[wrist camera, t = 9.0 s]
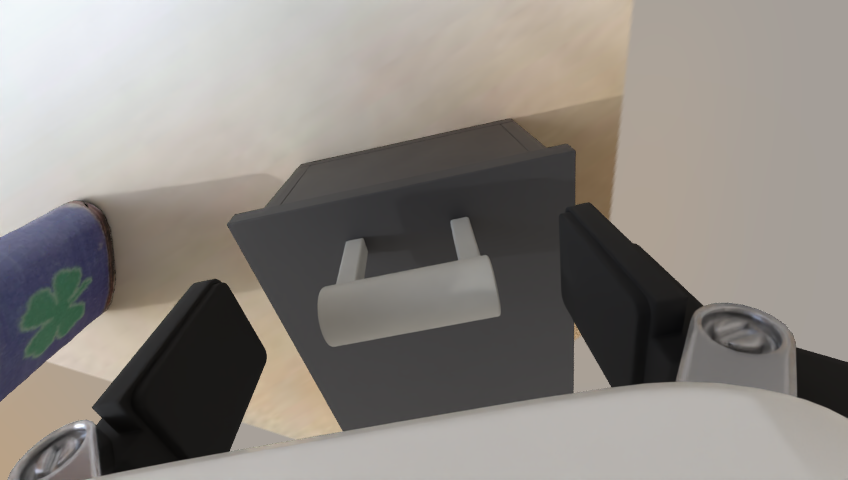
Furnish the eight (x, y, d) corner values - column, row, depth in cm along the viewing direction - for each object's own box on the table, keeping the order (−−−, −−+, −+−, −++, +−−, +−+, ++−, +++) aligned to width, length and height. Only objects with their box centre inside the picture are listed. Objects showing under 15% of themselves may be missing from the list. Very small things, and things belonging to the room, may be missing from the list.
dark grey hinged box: (299, 164, 22) (252, 221, 16) (511, 117, 22) (558, 156, 15) (367, 343, 29) (355, 437, 23) (529, 313, 29) (567, 401, 22)
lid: (234, 213, 14) (155, 312, 10) (567, 142, 14) (652, 213, 9) (355, 437, 22) (343, 548, 18) (568, 402, 22) (613, 509, 17)
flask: (63, 193, 23) (-178, 306, 13) (117, 208, 23) (-78, 327, 14) (70, 307, 27) (-112, 456, 17) (115, 318, 27) (-37, 467, 18)
